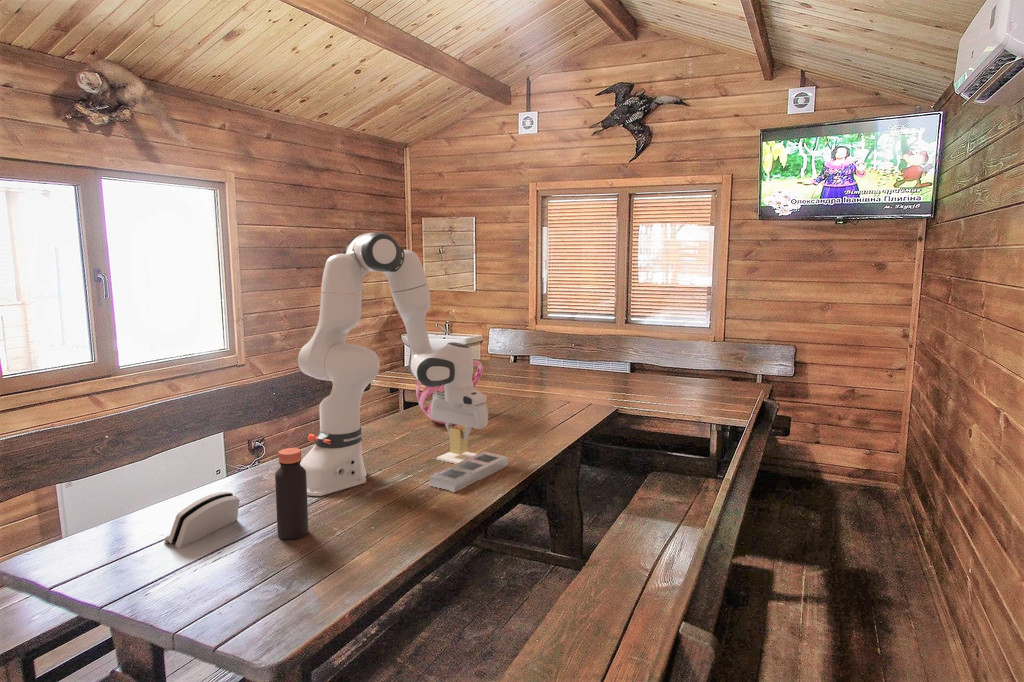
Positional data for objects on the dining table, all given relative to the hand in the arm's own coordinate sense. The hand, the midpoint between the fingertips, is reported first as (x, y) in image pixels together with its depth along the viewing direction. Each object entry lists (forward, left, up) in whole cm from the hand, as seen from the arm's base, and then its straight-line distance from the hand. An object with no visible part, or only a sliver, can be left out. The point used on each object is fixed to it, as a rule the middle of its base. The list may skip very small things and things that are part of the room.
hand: (458, 437), depth 203 cm
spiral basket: (+33, +30, -7) cm, 45 cm away
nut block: (0, 0, -5) cm, 5 cm away
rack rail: (-10, -12, -7) cm, 17 cm away
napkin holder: (-75, +16, -7) cm, 77 cm away
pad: (0, 0, -7) cm, 7 cm away
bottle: (-64, -1, -7) cm, 64 cm away
